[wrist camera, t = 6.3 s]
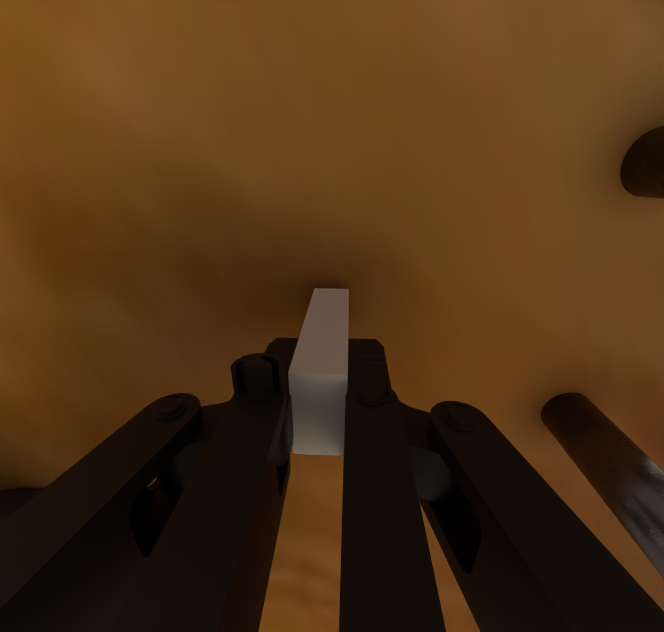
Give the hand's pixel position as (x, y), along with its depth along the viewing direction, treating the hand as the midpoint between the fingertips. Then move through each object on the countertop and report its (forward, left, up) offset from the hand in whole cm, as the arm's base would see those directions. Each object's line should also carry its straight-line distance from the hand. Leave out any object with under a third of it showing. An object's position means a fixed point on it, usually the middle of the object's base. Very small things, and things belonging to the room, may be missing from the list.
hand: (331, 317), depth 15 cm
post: (+13, -6, -2) cm, 15 cm away
